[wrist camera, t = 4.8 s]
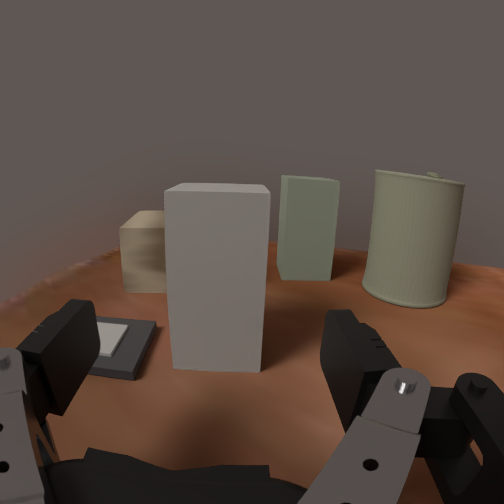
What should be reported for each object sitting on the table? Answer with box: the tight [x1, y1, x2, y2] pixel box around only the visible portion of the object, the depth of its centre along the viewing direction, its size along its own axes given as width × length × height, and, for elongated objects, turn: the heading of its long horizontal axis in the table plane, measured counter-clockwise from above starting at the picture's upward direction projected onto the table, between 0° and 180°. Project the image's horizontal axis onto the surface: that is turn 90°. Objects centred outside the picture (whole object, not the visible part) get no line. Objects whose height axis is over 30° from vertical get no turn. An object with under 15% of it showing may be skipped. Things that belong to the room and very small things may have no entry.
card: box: [88, 316, 157, 380], centre depth 19 cm, size 7×6×1 cm
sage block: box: [277, 175, 340, 281], centre depth 33 cm, size 5×5×10 cm
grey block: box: [164, 183, 271, 372], centre depth 19 cm, size 5×5×10 cm
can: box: [362, 170, 465, 308], centre depth 29 cm, size 9×9×12 cm
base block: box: [119, 211, 167, 293], centre depth 32 cm, size 9×9×6 cm
